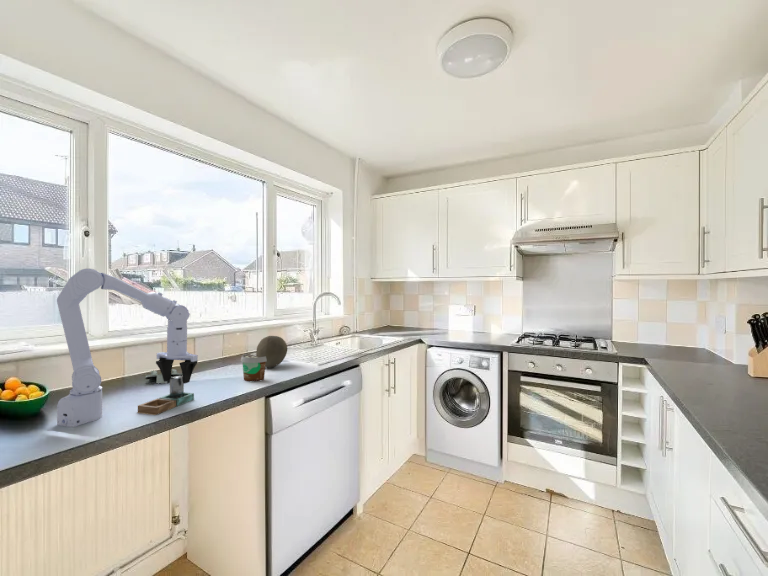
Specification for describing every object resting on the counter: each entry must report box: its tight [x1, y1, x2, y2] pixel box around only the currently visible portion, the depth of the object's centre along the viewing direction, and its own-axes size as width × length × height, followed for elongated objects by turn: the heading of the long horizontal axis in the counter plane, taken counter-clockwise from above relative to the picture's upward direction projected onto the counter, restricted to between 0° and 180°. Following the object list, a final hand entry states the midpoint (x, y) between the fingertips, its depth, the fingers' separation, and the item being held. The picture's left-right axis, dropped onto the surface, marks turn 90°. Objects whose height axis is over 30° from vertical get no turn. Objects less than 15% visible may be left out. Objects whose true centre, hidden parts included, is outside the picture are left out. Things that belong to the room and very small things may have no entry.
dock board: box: [136, 392, 195, 416], centre depth 114 cm, size 16×7×3 cm, turn 166°
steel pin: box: [169, 375, 185, 399], centre depth 118 cm, size 4×4×8 cm
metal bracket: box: [145, 368, 182, 384], centre depth 148 cm, size 14×6×15 cm
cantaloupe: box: [255, 335, 288, 369], centre depth 172 cm, size 14×14×15 cm
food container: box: [240, 353, 267, 382], centre depth 149 cm, size 12×6×10 cm, turn 62°
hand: (176, 381), depth 118 cm, fingers open, 7 cm apart
